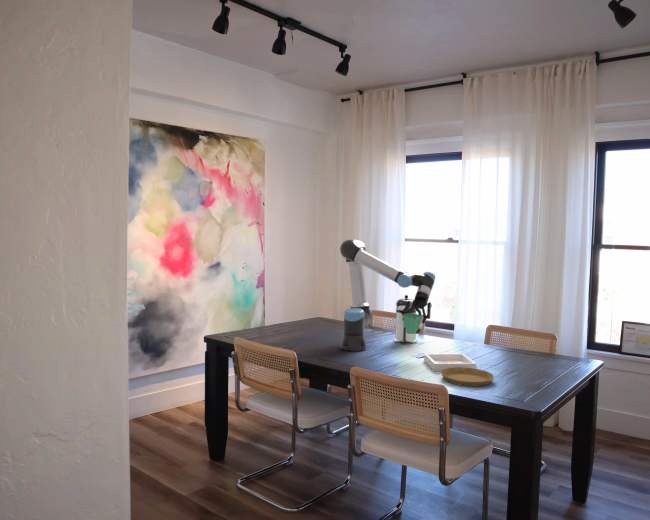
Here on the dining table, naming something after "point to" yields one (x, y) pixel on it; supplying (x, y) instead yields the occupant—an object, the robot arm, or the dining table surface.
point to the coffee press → (401, 330)
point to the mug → (412, 322)
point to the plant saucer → (467, 376)
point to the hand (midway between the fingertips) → (411, 326)
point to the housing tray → (448, 361)
